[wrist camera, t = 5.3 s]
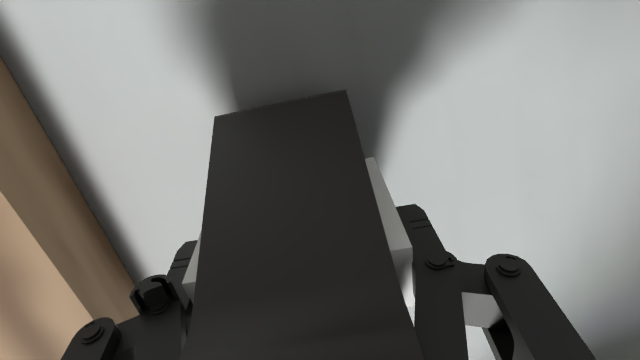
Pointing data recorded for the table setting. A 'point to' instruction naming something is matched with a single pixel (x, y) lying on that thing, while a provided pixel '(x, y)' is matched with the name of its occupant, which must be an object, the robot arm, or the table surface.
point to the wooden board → (48, 244)
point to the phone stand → (294, 243)
